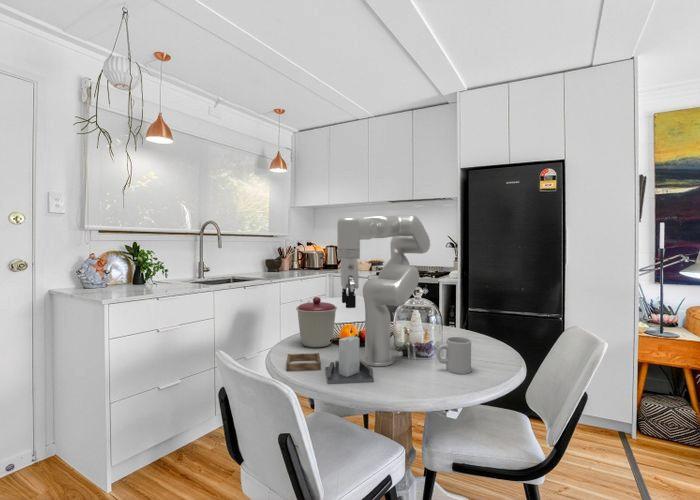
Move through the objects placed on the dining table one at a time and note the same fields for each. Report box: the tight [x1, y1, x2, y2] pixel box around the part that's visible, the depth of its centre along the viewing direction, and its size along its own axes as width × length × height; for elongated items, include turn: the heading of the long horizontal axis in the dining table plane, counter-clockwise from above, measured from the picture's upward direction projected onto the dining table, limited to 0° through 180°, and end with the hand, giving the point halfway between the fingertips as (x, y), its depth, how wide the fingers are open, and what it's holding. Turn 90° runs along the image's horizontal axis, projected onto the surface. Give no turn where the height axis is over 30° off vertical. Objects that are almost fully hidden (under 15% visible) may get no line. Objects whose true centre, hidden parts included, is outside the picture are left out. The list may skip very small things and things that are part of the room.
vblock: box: [324, 359, 375, 385], centre depth 130 cm, size 15×13×4 cm
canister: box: [295, 296, 338, 348], centre depth 168 cm, size 18×18×21 cm
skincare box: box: [338, 335, 360, 377], centre depth 129 cm, size 6×4×12 cm
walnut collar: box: [286, 352, 322, 372], centre depth 141 cm, size 12×12×2 cm
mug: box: [436, 336, 472, 375], centre depth 136 cm, size 12×8×11 cm
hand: (348, 305), depth 129 cm, fingers open, 9 cm apart
